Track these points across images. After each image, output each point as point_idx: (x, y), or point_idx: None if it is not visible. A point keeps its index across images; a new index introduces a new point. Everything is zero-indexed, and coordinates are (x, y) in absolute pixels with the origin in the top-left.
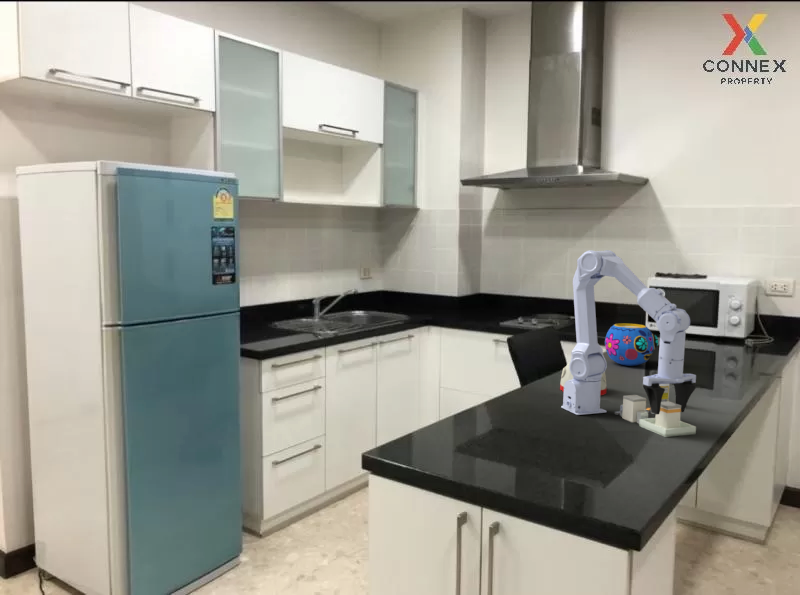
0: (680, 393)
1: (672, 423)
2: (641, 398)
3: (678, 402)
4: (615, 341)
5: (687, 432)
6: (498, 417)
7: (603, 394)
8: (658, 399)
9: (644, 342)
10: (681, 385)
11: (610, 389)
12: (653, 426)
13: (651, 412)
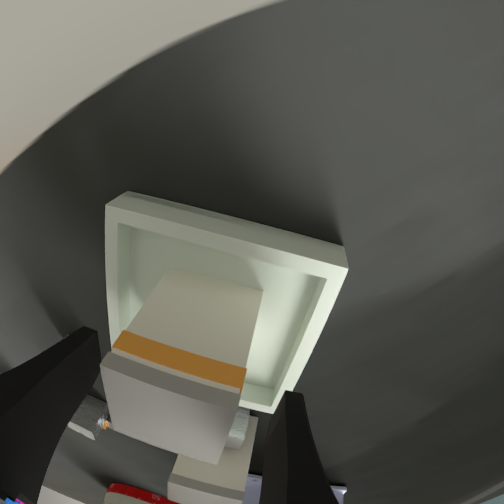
0: (37, 434)
1: (211, 303)
2: (190, 490)
3: (74, 392)
4: (17, 499)
5: (177, 207)
6: (475, 491)
7: (130, 486)
8: (321, 490)
9: None
10: (7, 479)
11: (94, 478)
12: (311, 345)
13: (108, 411)
